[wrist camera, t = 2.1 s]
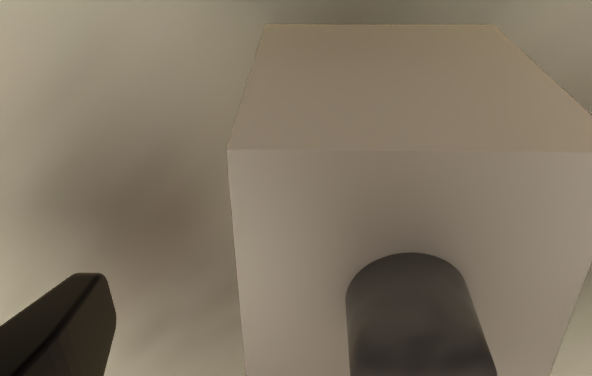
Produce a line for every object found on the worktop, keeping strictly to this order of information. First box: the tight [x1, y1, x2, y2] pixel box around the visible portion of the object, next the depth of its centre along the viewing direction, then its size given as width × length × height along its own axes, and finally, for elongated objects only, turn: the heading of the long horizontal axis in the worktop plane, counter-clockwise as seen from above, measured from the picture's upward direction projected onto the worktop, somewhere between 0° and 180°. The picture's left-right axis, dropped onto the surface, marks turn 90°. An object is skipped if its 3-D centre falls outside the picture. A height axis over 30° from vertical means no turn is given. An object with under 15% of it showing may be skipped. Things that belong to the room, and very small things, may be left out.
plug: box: [226, 24, 592, 376], centre depth 10 cm, size 5×5×8 cm
